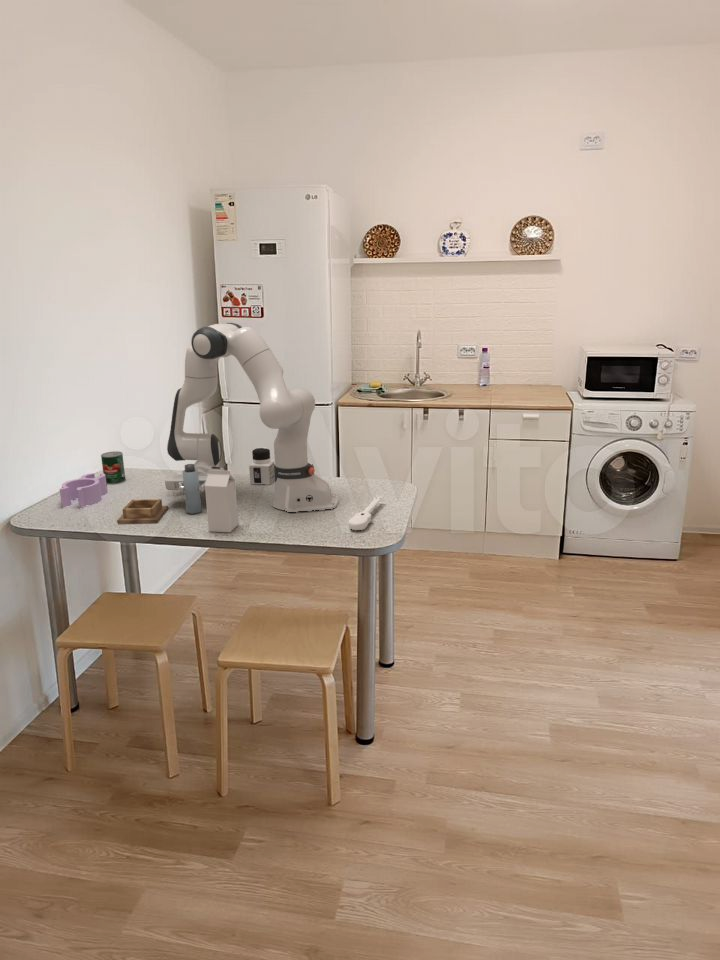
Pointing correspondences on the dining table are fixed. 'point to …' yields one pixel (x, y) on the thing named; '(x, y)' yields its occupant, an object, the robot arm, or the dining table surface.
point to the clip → (84, 490)
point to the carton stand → (143, 511)
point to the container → (261, 467)
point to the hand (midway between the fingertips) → (191, 489)
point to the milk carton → (221, 501)
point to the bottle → (191, 489)
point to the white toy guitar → (363, 516)
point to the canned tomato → (113, 467)
